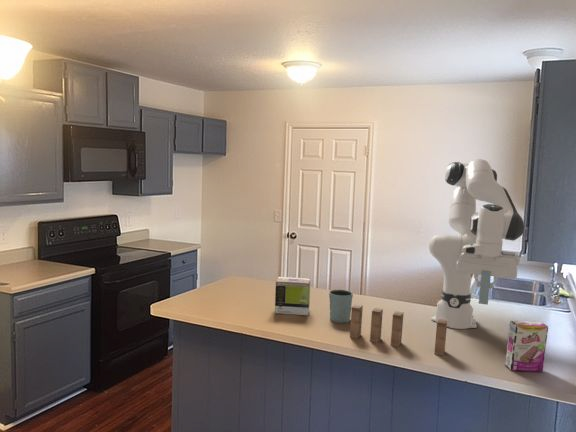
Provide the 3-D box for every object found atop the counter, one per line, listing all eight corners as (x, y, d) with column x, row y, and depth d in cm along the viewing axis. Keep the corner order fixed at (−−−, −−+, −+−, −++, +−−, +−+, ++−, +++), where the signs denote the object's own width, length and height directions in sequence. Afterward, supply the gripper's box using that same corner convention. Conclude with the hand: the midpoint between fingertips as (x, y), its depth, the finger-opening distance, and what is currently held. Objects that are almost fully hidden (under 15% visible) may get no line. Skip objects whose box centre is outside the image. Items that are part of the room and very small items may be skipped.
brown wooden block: (436, 349, 183) (438, 318, 181) (444, 351, 181) (447, 319, 180) (434, 354, 178) (437, 322, 177) (442, 355, 177) (445, 323, 175)
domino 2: (373, 337, 192) (375, 307, 191) (380, 338, 191) (382, 308, 190) (369, 341, 188) (372, 310, 186) (377, 342, 187) (379, 312, 185)
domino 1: (353, 333, 196) (355, 304, 194) (360, 334, 194) (362, 305, 193) (349, 337, 191) (351, 307, 190) (357, 338, 190) (359, 308, 188)
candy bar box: (511, 371, 166) (516, 324, 164) (504, 365, 171) (509, 320, 169) (543, 372, 166) (549, 326, 164) (535, 366, 171) (540, 321, 169)
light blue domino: (479, 300, 181) (482, 268, 180) (488, 301, 180) (491, 269, 179) (478, 303, 177) (481, 270, 175) (487, 304, 176) (490, 272, 174)
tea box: (309, 309, 224) (311, 277, 223) (308, 316, 214) (309, 283, 213) (276, 307, 226) (278, 275, 224) (274, 313, 216) (275, 280, 214)
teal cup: (350, 324, 206) (351, 296, 205) (326, 321, 208) (327, 294, 207) (351, 317, 216) (353, 290, 215) (329, 314, 218) (330, 288, 217)
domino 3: (393, 341, 189) (395, 310, 188) (401, 342, 188) (403, 312, 186) (390, 345, 184) (392, 314, 183) (398, 346, 183) (400, 315, 182)
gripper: (520, 252, 175) (516, 289, 177) (459, 245, 183) (456, 281, 185) (520, 254, 169) (516, 293, 171) (458, 247, 178) (454, 285, 179)
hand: (484, 287), depth 178 cm, fingers closed on light blue domino, 3 cm apart
